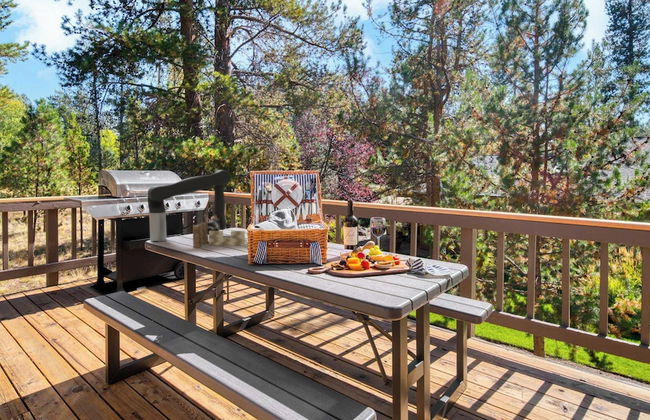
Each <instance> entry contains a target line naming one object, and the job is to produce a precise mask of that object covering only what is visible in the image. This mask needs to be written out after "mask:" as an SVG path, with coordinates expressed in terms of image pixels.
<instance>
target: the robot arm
mask: <svg viewBox="0 0 650 420" xmlns="http://www.w3.org/2000/svg"><path fill="white" fill-rule="evenodd" d="M231 179H232V175H231V173H230V172H229V171H228V170H224V169H217V170H216V171H215V172H214V173H212V174H207V175H197V176H192V177H188V178H184V179H181V180H178V181H177V182H174V183H171V184H167V185H160V186H159V185H154V186H151V187H149V188H148V191H147V204H148V212H149V213H148V214H149V215H148V216H149V241H150V242H153V241H158V242H165V241H167V240H168V239H167V221H166V220H167V218H166V217H167V216H166V215H167V213H166V207H165V200H167V199H170V198H173V197H175V196H182V195H187V194H191V193H192V194H193V193H195V192H198V191H202V190H204V189H208V188H209V187H213V188H214V197H213V198H214V200H213V202H214V203H213V213H212V214H213V215H215V216H218V217H219V218H212V219H211V220H210V221H207V222H208V236H209V231H224V230H225V229H226V227H227V222H226V217H225V208H226V200H225V199H226V198H225V192H224V191H225V189H224V188H225V185H226V184H228V183H229V182H230V181H231Z"/></svg>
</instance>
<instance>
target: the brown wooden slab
mask: <svg viewBox="0 0 650 420" xmlns="http://www.w3.org/2000/svg"><path fill="white" fill-rule="evenodd" d="M208 222H209V221H206V222H205V221H204V222H203V221H202V222H200V223H197V224H194V225H193V226H192V241H193V243H192V245H193V246H192V247H193V249H199V248H202V246H203V245H206V244H209V235H208Z"/></svg>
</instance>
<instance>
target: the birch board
mask: <svg viewBox="0 0 650 420" xmlns="http://www.w3.org/2000/svg"><path fill="white" fill-rule="evenodd" d="M245 233H246V231H245V230H231V231H230V237H224V230H219V231H209V235H208V245H209V246H245V245H246V238H245V237H246V235H245Z"/></svg>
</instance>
